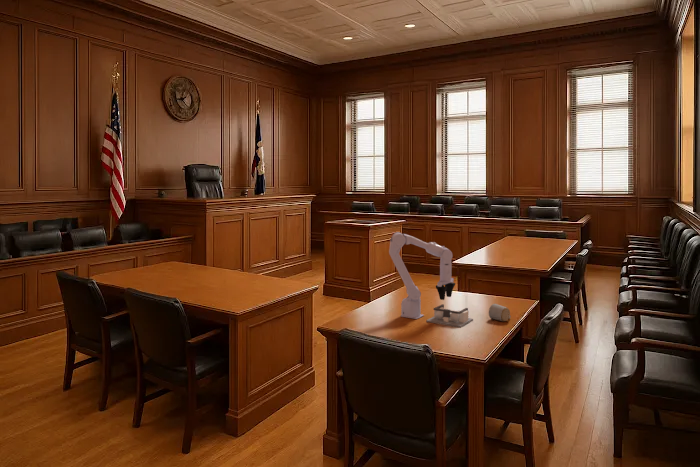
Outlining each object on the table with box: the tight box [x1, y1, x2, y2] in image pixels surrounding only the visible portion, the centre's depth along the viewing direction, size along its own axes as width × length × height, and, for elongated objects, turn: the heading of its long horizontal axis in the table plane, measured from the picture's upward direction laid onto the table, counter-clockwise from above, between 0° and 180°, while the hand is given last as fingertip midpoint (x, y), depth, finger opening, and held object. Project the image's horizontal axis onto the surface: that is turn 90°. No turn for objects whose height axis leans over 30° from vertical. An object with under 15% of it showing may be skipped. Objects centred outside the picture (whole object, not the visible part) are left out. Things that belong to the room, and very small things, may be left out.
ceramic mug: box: [488, 303, 512, 322], centre depth 254 cm, size 11×8×8 cm
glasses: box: [433, 304, 469, 321], centre depth 253 cm, size 10×14×5 cm
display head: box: [426, 306, 474, 329], centre depth 252 cm, size 15×18×6 cm
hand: (445, 298), depth 261 cm, fingers open, 7 cm apart
